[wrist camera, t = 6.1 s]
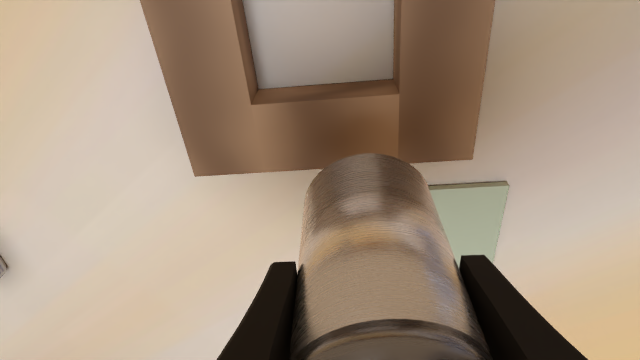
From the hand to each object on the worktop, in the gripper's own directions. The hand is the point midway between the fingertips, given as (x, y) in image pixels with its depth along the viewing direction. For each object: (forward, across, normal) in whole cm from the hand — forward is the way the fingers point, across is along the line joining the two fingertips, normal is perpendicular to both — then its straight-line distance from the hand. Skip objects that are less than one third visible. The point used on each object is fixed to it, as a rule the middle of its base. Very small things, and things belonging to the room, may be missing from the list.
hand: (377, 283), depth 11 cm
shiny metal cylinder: (+3, 0, 0) cm, 3 cm away
